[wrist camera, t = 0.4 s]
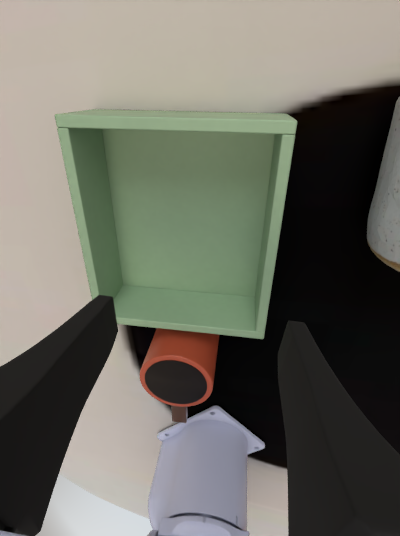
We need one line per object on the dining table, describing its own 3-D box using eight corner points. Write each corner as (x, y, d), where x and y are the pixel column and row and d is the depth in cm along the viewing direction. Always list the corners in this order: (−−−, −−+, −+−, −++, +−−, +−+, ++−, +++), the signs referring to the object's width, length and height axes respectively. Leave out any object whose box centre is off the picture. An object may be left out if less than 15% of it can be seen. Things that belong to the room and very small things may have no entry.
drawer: (261, 299, 24) (263, 339, 20) (119, 287, 26) (96, 322, 22) (287, 113, 18) (297, 120, 14) (93, 109, 19) (54, 114, 15)
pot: (157, 303, 26) (135, 352, 21) (220, 309, 25) (214, 361, 20) (162, 371, 30) (145, 425, 25) (217, 378, 30) (210, 435, 25)
